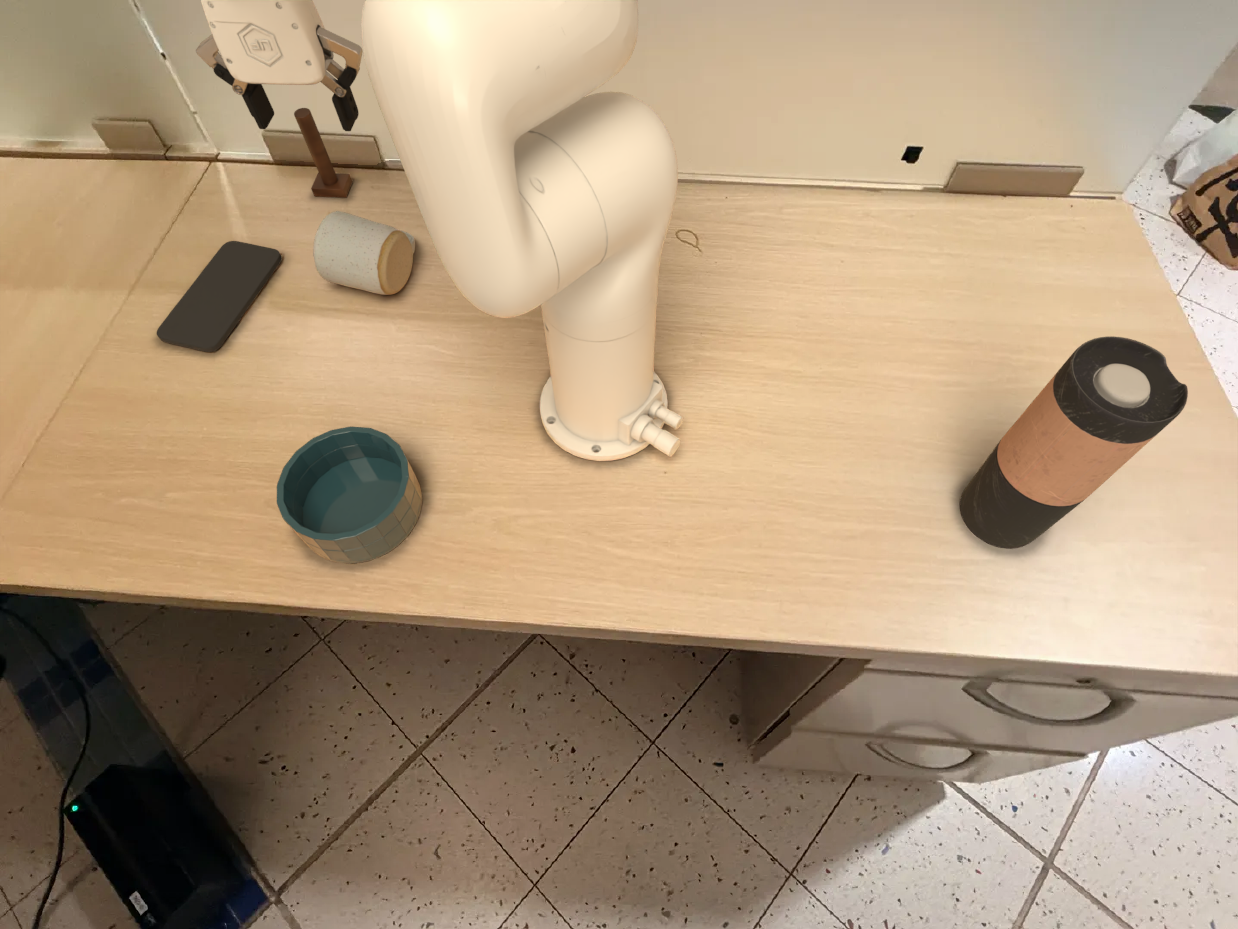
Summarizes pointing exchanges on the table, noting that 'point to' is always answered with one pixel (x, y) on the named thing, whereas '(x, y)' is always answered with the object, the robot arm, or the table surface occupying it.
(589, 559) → the table surface
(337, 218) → the ceramic mug
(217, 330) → the phone
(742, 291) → the table surface
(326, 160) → the wooden stamp
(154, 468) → the table surface
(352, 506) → the bowl
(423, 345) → the table surface
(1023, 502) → the travel mug
